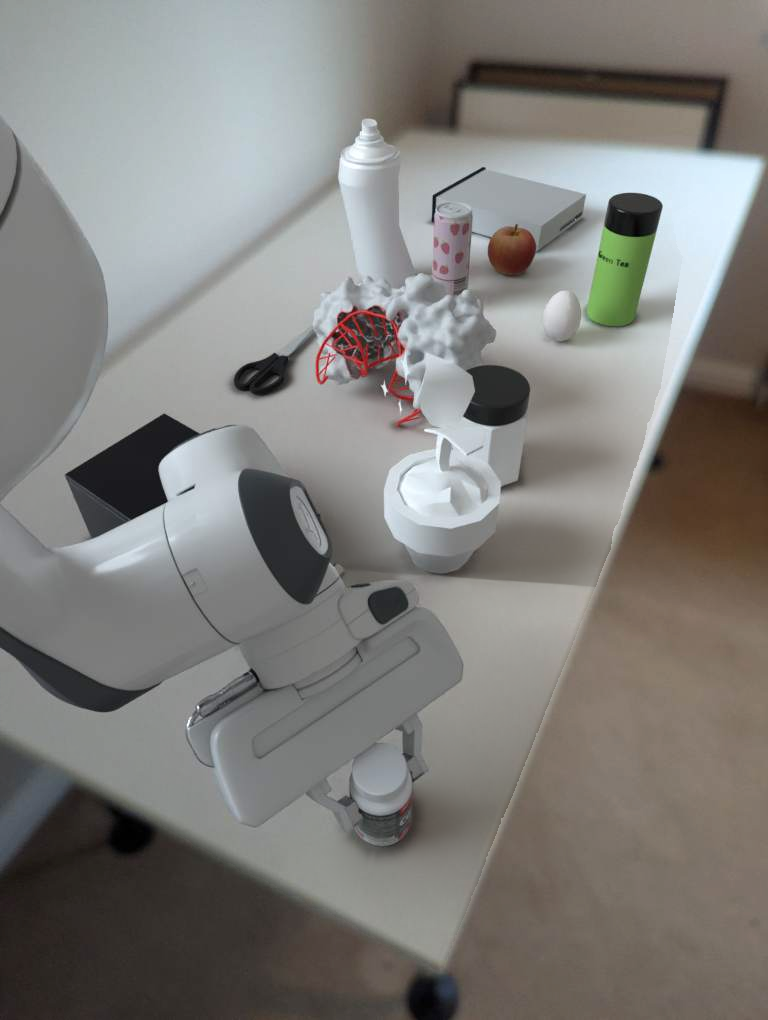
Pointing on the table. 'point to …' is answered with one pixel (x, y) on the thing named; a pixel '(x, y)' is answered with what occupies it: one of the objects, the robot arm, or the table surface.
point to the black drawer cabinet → (126, 476)
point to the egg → (562, 316)
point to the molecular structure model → (397, 330)
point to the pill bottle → (382, 794)
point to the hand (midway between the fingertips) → (386, 799)
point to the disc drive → (514, 204)
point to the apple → (511, 250)
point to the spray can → (374, 207)
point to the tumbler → (623, 258)
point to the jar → (499, 418)
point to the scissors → (270, 367)
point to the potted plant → (443, 478)
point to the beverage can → (452, 246)
